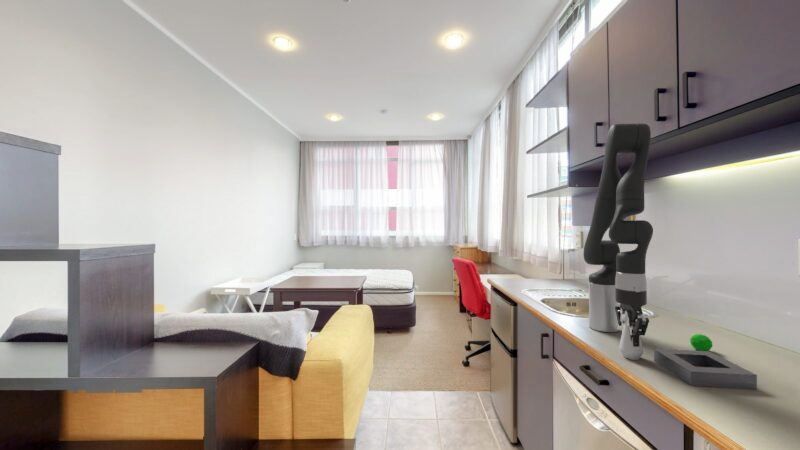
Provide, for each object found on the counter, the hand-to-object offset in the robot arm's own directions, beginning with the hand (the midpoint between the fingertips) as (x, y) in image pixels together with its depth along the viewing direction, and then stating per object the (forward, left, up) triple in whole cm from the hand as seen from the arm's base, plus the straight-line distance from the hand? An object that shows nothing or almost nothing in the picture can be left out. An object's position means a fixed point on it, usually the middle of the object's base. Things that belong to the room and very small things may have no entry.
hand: (631, 344), depth 94 cm
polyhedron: (-8, +24, -4) cm, 26 cm away
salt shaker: (0, 0, -4) cm, 4 cm away
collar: (+9, +12, -4) cm, 15 cm away
